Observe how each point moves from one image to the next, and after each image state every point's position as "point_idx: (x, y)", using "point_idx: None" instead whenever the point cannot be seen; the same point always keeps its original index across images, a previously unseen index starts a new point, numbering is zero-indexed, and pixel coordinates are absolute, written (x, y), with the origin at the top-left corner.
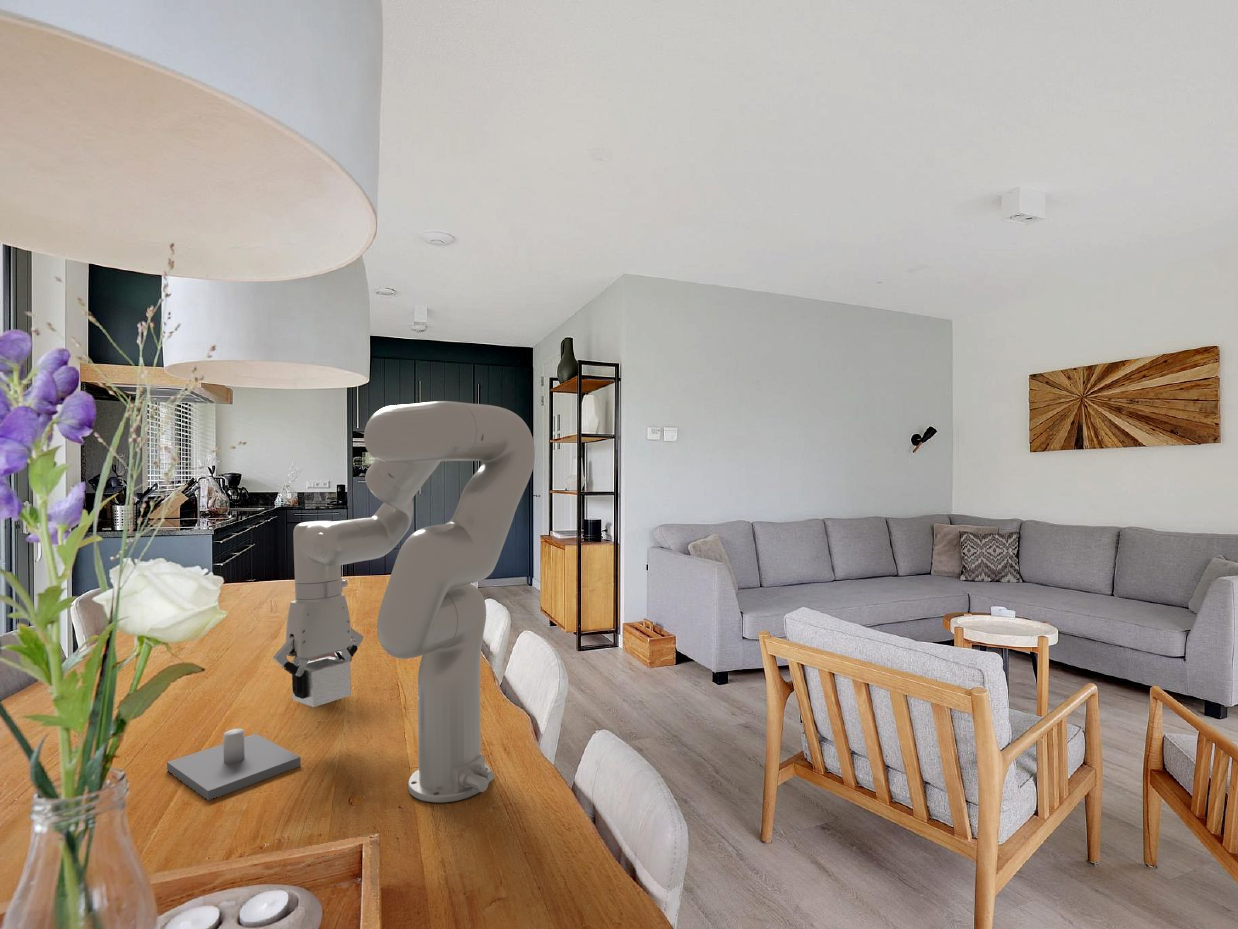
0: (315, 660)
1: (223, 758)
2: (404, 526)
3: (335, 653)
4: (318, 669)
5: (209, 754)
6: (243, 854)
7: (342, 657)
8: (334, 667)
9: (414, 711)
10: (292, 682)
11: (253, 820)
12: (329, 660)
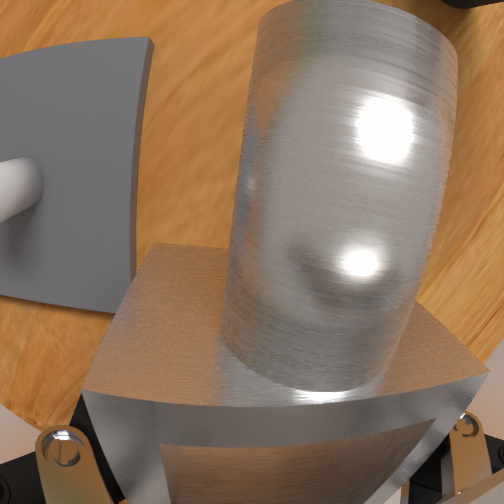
0: (369, 415)
1: (14, 151)
2: None
3: (445, 477)
4: None
5: (10, 94)
6: (19, 416)
7: (430, 471)
8: None
9: (469, 261)
10: (80, 400)
11: (29, 382)
12: (414, 432)
